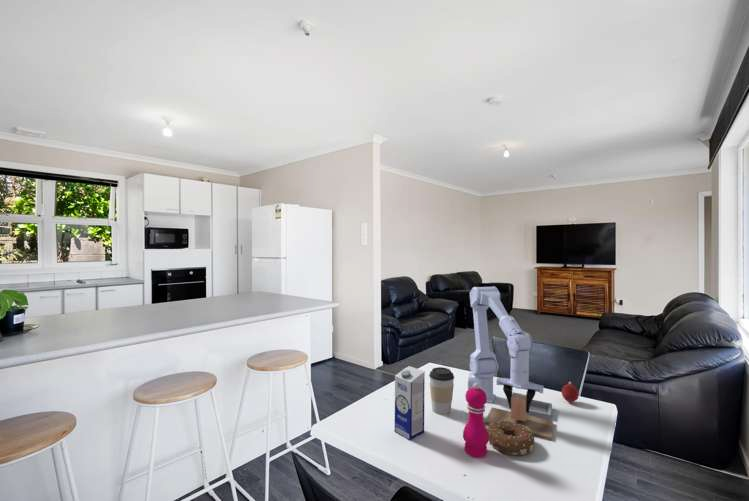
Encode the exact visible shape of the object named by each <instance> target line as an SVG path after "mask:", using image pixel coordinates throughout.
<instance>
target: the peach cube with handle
mask: <svg viewBox="0 0 749 501" xmlns="http://www.w3.org/2000/svg"><path fill="white" fill-rule="evenodd" d="M526 406H527V395H526V394H525V393H519V392H513V391H512V396H511V409H510V411H511V418H513V419H518V420H522V421H526V419H527V412H526Z"/></svg>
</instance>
